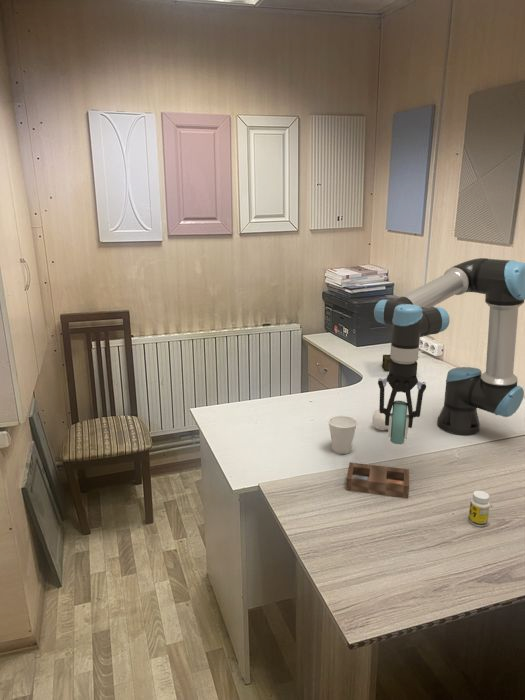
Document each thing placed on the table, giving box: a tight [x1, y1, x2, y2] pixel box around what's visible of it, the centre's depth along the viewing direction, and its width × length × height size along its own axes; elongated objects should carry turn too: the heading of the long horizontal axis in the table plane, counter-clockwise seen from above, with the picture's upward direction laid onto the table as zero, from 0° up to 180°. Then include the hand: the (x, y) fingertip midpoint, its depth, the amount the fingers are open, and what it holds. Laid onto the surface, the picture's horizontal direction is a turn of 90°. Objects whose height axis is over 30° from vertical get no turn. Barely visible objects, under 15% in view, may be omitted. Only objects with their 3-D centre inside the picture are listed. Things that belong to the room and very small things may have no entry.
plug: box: [389, 400, 408, 445], centre depth 150 cm, size 4×4×12 cm
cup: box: [327, 415, 358, 455], centre depth 177 cm, size 10×10×11 cm
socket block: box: [345, 461, 410, 499], centre depth 156 cm, size 18×10×4 cm, turn 76°
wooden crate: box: [381, 354, 391, 373], centre depth 262 cm, size 7×7×7 cm
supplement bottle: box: [468, 490, 491, 527], centre depth 138 cm, size 5×5×8 cm
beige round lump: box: [371, 409, 389, 431], centre depth 194 cm, size 8×8×8 cm
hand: (397, 436), depth 151 cm, fingers closed on plug, 4 cm apart
